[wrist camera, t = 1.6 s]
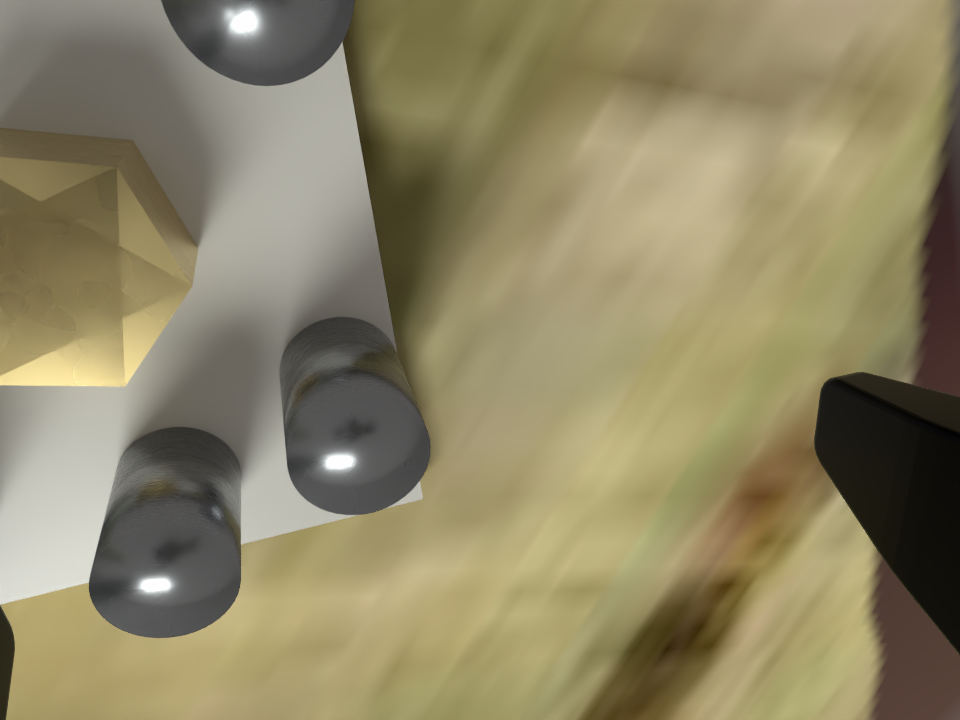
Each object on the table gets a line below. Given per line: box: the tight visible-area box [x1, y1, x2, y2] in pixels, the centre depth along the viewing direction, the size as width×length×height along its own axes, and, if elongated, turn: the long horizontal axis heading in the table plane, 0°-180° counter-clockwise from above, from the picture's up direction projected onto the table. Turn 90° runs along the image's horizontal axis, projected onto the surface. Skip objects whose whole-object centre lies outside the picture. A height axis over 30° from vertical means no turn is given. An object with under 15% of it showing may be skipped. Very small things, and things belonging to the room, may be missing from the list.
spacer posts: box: [89, 0, 430, 638], centre depth 16 cm, size 14×16×4 cm
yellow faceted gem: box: [0, 128, 198, 387], centre depth 16 cm, size 4×5×2 cm
